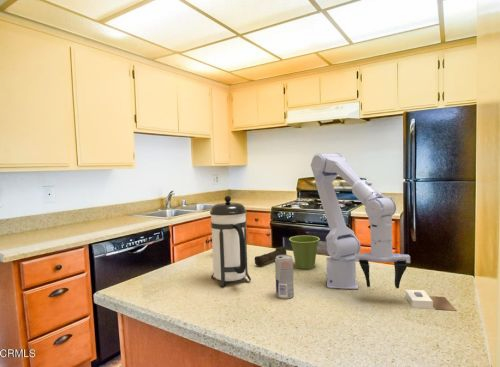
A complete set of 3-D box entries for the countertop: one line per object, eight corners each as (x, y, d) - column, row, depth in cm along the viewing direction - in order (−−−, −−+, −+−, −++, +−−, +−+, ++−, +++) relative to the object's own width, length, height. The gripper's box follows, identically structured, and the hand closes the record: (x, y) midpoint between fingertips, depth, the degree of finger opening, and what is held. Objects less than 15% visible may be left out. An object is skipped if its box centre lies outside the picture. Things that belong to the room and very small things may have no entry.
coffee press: (199, 285, 110) (195, 197, 109) (223, 271, 125) (220, 194, 123) (245, 292, 103) (241, 198, 101) (264, 276, 117) (262, 194, 116)
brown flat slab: (435, 309, 86) (435, 308, 86) (425, 296, 95) (425, 295, 95) (456, 310, 85) (456, 310, 85) (444, 297, 94) (444, 296, 94)
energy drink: (283, 291, 103) (282, 253, 102) (297, 295, 99) (296, 256, 98) (272, 296, 99) (271, 257, 99) (286, 300, 95) (285, 260, 95)
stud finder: (412, 309, 88) (412, 298, 88) (405, 297, 96) (405, 288, 95) (433, 310, 87) (432, 299, 87) (423, 298, 94) (423, 288, 94)
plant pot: (284, 265, 130) (283, 237, 130) (308, 261, 135) (308, 234, 135) (300, 273, 119) (300, 243, 119) (326, 268, 124) (326, 239, 124)
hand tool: (261, 266, 127) (260, 255, 128) (254, 265, 130) (253, 254, 130) (291, 256, 141) (290, 246, 141) (284, 255, 144) (283, 245, 144)
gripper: (355, 242, 90) (357, 290, 91) (412, 243, 87) (413, 293, 88) (353, 237, 97) (355, 281, 98) (406, 237, 94) (407, 283, 94)
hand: (382, 286), depth 93 cm, fingers open, 7 cm apart
